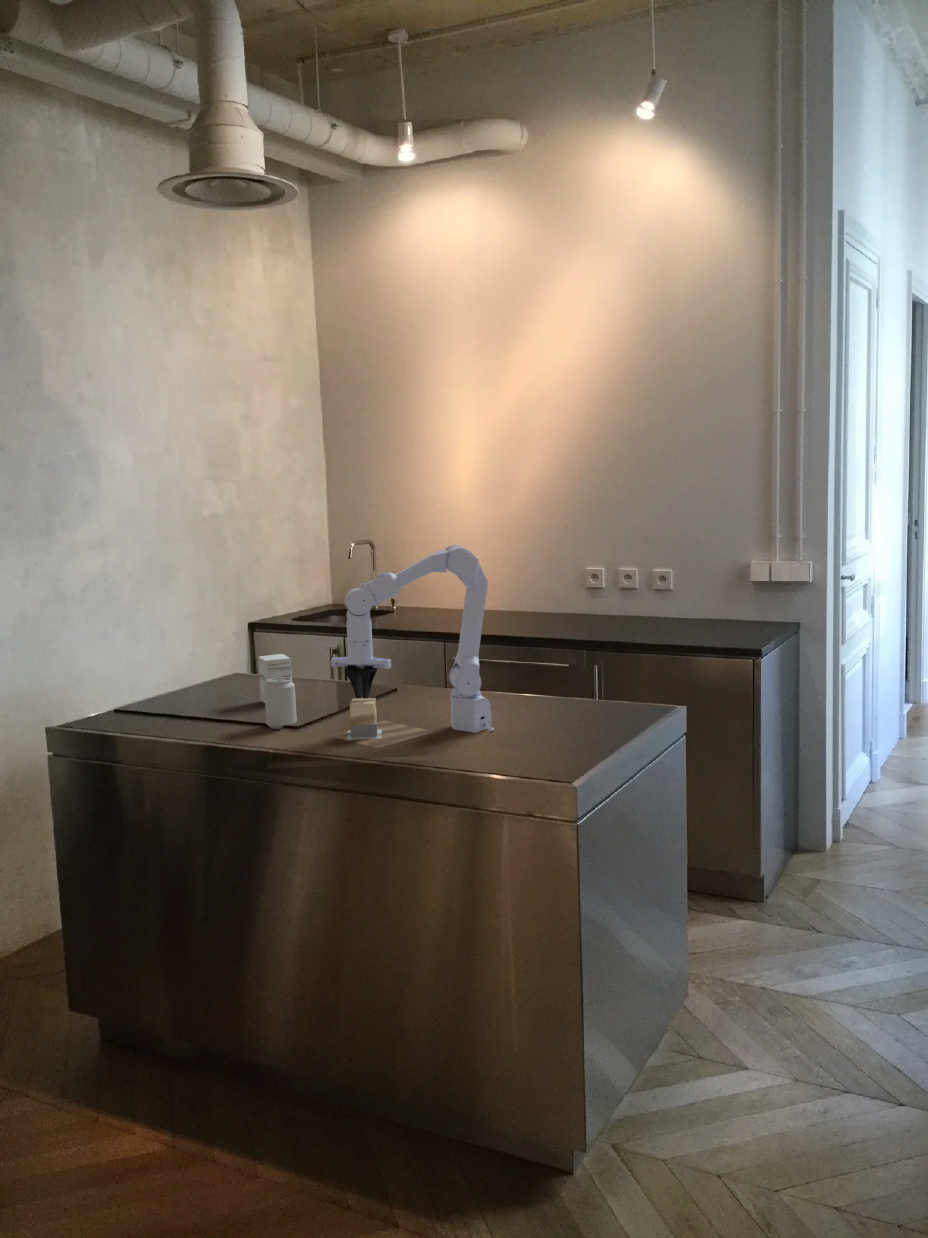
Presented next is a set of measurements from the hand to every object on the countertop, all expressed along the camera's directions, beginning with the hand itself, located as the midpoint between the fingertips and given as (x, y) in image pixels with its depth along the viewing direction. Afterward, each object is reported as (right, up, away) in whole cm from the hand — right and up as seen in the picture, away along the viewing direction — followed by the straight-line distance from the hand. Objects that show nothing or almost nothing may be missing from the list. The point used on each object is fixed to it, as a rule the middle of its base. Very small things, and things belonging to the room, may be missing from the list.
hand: (362, 697), depth 257 cm
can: (-22, -8, +16) cm, 28 cm away
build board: (+4, -10, +2) cm, 11 cm away
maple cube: (0, -6, +1) cm, 6 cm away
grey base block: (0, -9, +1) cm, 9 cm away
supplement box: (-27, -5, +43) cm, 51 cm away
